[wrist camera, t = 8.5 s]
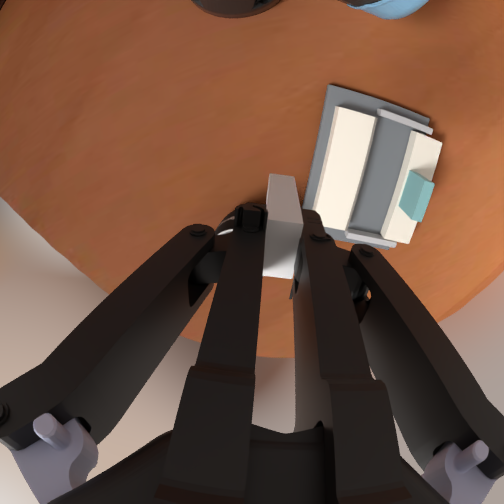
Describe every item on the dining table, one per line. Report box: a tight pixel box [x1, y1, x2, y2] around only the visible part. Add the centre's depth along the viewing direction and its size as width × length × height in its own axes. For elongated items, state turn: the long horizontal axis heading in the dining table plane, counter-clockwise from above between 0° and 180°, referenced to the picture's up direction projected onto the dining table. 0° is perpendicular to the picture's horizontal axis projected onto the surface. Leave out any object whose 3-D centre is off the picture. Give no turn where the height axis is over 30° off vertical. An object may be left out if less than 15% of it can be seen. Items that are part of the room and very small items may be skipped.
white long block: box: [380, 130, 442, 244], centre depth 36 cm, size 18×5×7 cm, turn 172°
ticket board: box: [302, 85, 433, 250], centre depth 39 cm, size 24×17×4 cm
